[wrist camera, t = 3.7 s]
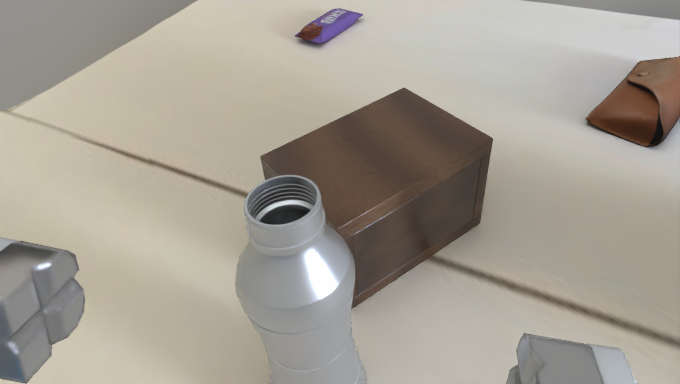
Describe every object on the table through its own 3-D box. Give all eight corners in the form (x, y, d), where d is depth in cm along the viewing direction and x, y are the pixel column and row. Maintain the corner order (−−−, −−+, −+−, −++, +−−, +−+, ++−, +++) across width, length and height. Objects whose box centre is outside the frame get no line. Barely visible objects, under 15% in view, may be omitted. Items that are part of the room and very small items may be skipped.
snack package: (338, 2, 87) (363, 8, 84) (339, 13, 88) (364, 20, 86) (292, 30, 80) (318, 37, 78) (294, 41, 81) (319, 49, 79)
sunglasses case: (637, 57, 70) (681, 22, 64) (677, 95, 69) (725, 62, 63) (581, 121, 60) (627, 86, 55) (627, 165, 60) (678, 134, 54)
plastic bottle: (386, 398, 38) (382, 193, 25) (318, 469, 35) (269, 277, 21) (325, 344, 42) (292, 139, 28) (257, 404, 38) (184, 205, 25)
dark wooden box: (403, 167, 57) (404, 87, 51) (480, 223, 50) (493, 138, 44) (277, 238, 51) (259, 156, 44) (346, 312, 44) (337, 228, 37)
